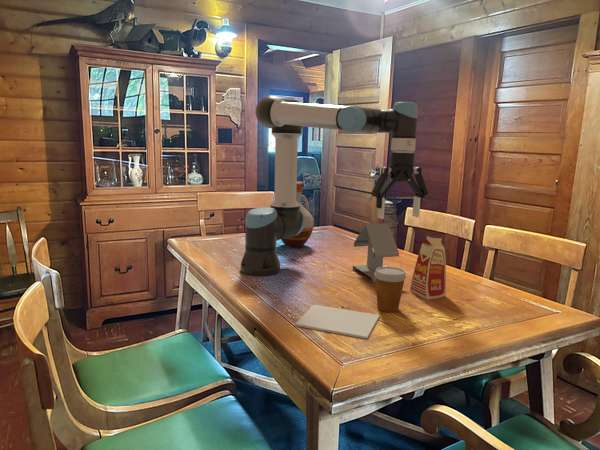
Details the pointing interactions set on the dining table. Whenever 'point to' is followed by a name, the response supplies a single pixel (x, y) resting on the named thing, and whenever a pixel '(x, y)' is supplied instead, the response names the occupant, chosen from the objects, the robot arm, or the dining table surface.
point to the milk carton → (430, 270)
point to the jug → (309, 222)
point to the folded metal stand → (376, 247)
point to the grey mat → (338, 321)
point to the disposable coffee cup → (389, 288)
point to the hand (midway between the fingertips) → (398, 217)
